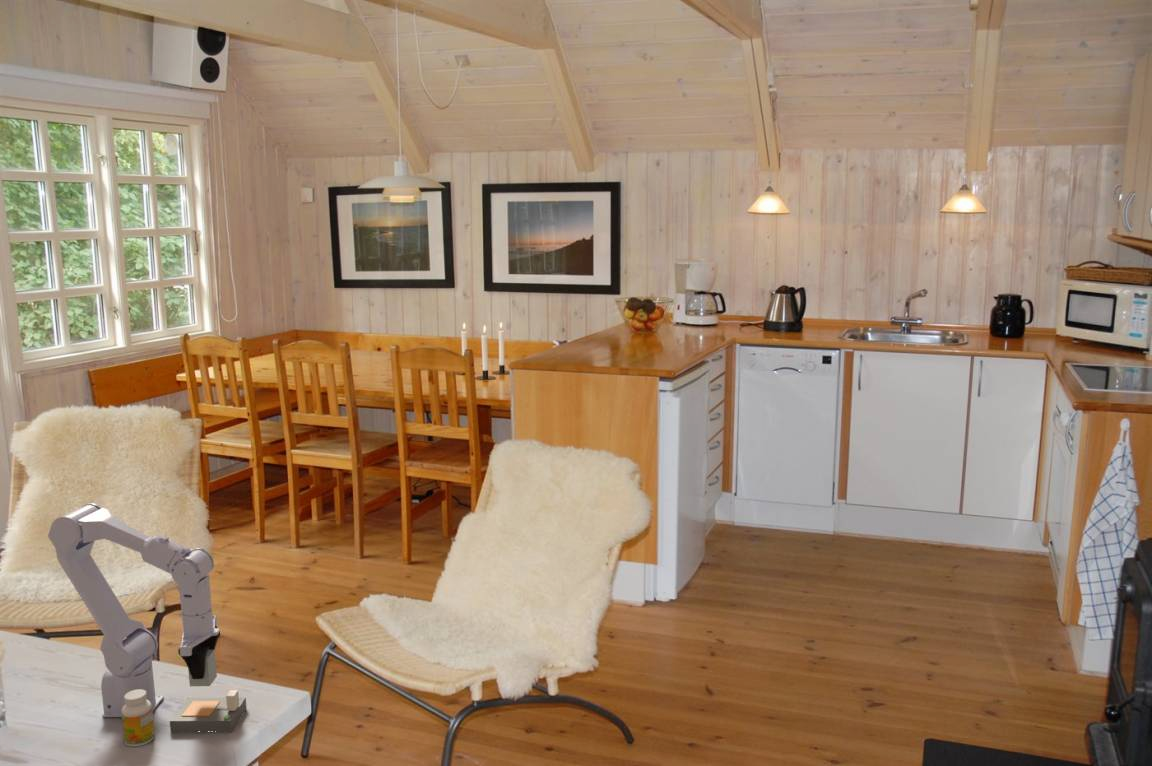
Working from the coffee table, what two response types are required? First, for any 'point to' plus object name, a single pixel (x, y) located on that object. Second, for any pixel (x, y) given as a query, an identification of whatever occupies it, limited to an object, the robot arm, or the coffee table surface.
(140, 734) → the supplement bottle
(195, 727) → the switch box
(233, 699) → the lever
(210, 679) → the block
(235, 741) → the coffee table surface
